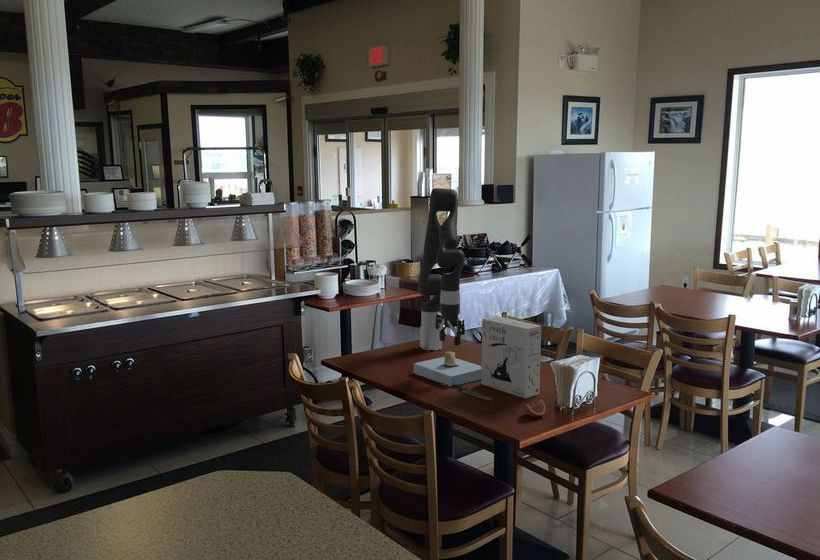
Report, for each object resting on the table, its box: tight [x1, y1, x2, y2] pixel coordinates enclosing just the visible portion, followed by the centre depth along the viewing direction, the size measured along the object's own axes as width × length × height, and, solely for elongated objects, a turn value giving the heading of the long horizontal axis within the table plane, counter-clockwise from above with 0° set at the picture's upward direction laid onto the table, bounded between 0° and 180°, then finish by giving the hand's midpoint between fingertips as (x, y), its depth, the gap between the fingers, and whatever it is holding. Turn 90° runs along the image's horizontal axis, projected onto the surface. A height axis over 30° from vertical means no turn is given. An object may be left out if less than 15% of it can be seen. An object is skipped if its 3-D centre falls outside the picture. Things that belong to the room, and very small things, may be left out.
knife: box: [442, 384, 495, 401], centre depth 249 cm, size 26×1×5 cm
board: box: [413, 356, 481, 387], centre depth 268 cm, size 22×18×4 cm
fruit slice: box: [521, 398, 547, 418], centre depth 224 cm, size 8×7×5 cm
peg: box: [444, 351, 456, 368], centre depth 268 cm, size 4×4×9 cm
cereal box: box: [480, 315, 542, 399], centre depth 250 cm, size 22×8×25 cm, turn 40°
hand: (449, 343), depth 267 cm, fingers open, 8 cm apart
